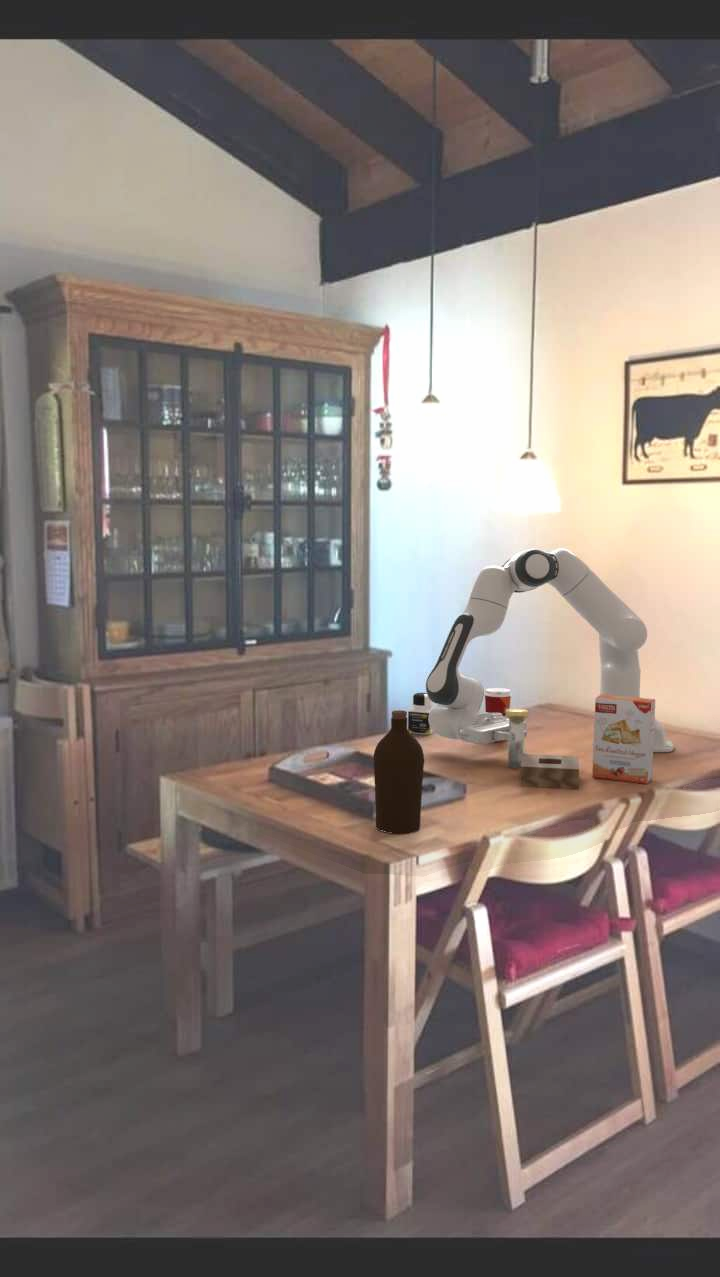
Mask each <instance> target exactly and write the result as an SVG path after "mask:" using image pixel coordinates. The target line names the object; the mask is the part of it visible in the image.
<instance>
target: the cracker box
mask: <svg viewBox="0 0 720 1277" xmlns="http://www.w3.org/2000/svg"><path fill="white" fill-rule="evenodd" d="M594 705H595V706H594V707H595V708H594V724H593V726H594V729H593V741H594V744H593V751H592V754H593V755H592V775H591V776H592V778H594V779H595V778H597V779H605V780H614V781H620V782H627V783H637V784H642V785H643V784H644V785H648V784H649V782H651V780H652V778H653V762H654V752H653V744H654V722H655V719H656V718H655V717H656V699H655V698H643V697H640V698H635V697H624V696H614V695H602V694H601V695H600V694H599V695H598V696H596V697H595V703H594Z"/></svg>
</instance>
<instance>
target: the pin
mask: <svg viewBox="0 0 720 1277" xmlns="http://www.w3.org/2000/svg"><path fill="white" fill-rule="evenodd" d="M529 712H530V711H529V710H527V709H521V708H510V709H508V710H506V712H505V717H507V718H509V733H514V740H511V741H509V740H508V754H507V756H508V757H507V758H508V759H507V768H509V767H510V768H509V769H513V768H516V769H515V770H517V769H520V770H521V762H522V756H523V754H525V753H524V752H525V737H524V721H525V719H528V718H529Z"/></svg>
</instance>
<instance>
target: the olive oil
mask: <svg viewBox="0 0 720 1277" xmlns="http://www.w3.org/2000/svg"><path fill="white" fill-rule="evenodd" d="M407 713H408V711H406V710H403V709H402V710H400V709H399V710H398V709H397V710H392V711H391V718H390V724H391V725H390V726H391V728H390V730H389V731H388V732H387V733H386V734H385V735H384V736H383V737H382V738H381V740H379V742H378V743H377V745H376V746H375V749H374V752H373V774H374V775H373V776H374V798H375V802H374V803H375V827H377V828H378V829H379V830H378V829H377V828H376V829H377V830H378V831H380V830H383V831H386V832H392V833H391V834H394V833H405V834H410V832H412V833H415V832H417V831H419V829H421V818H422V817H421V814H422V812H421V811H422V798H423V797H422V796H423V783H424V782H423V778H424V766H425V765H424V764H425V755H424V751H423V747H422V745H421V743H420V742H419V741H418V740H417V739H416V738H415V736H413V734H412V733H410V732H409V731H408V717H407V716H408V714H407ZM383 831H382V832H383ZM386 832H385V833H386Z"/></svg>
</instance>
